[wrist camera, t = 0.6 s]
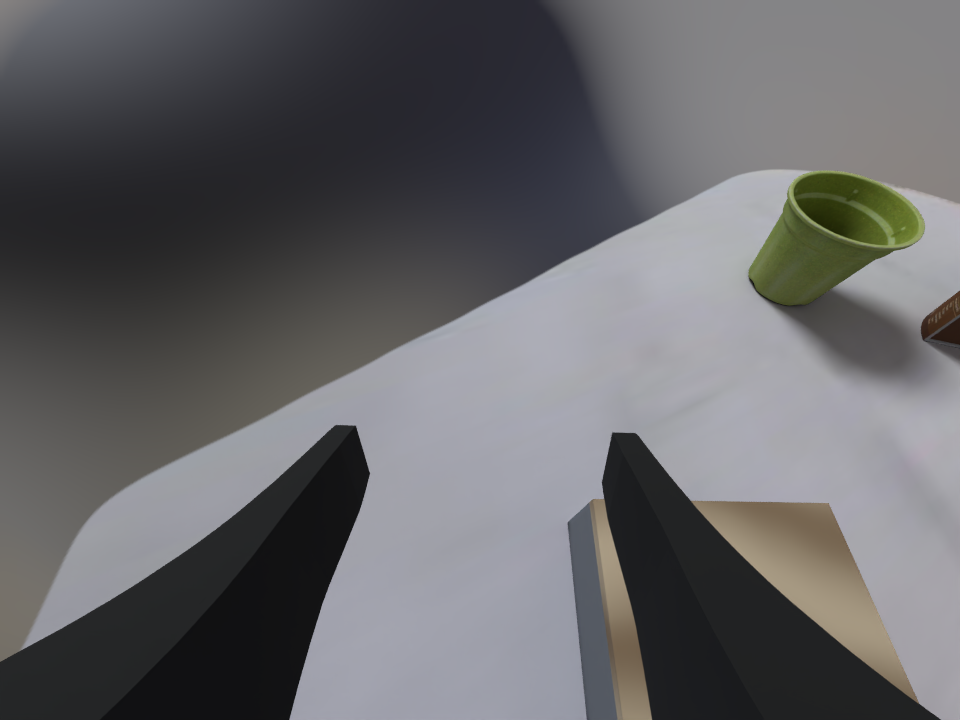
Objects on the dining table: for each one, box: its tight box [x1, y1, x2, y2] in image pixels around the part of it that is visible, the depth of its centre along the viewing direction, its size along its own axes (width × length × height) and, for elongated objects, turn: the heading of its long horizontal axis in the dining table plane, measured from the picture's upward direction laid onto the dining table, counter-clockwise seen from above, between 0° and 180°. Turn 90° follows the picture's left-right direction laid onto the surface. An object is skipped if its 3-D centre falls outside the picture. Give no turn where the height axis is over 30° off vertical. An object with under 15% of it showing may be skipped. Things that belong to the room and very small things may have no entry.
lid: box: [589, 499, 919, 720], centre depth 15 cm, size 14×12×3 cm
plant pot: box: [749, 171, 925, 306], centre depth 33 cm, size 9×9×9 cm
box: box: [568, 503, 618, 720], centre depth 19 cm, size 14×12×6 cm
